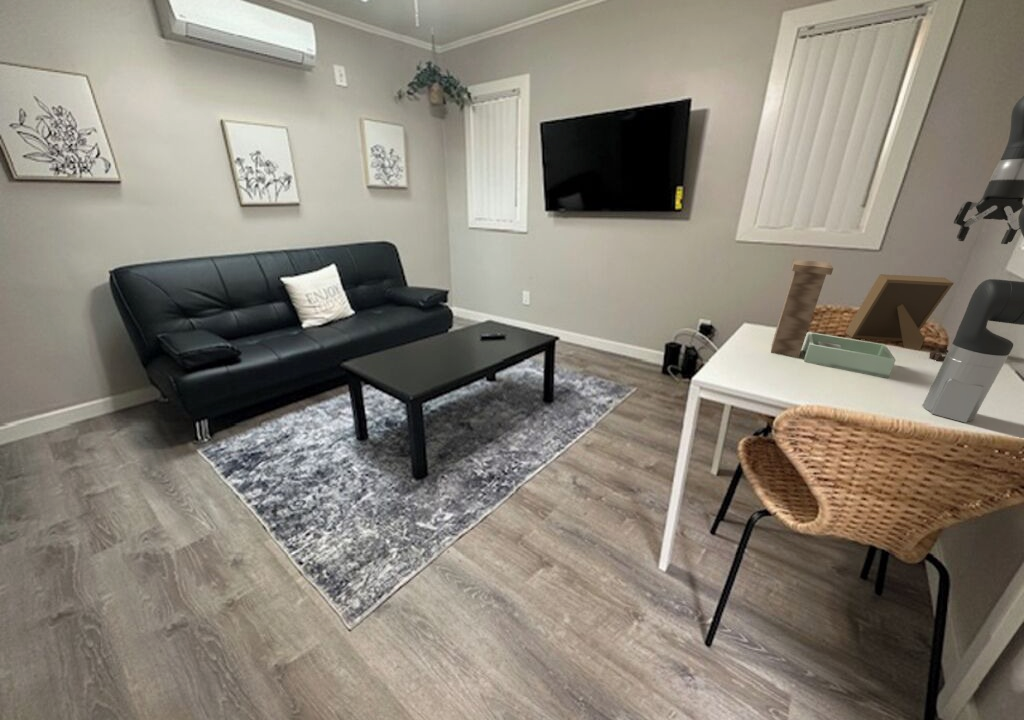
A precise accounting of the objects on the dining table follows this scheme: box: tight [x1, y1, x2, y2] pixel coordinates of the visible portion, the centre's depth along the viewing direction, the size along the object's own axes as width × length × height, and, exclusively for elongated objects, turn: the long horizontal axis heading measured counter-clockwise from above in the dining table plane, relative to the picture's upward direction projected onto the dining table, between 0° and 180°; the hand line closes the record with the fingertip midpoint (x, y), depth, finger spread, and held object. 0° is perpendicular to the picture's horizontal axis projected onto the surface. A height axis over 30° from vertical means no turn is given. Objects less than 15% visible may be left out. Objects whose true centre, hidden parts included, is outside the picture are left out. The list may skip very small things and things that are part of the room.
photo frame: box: [845, 273, 955, 351], centre depth 148 cm, size 15×22×25 cm
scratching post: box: [770, 258, 834, 359], centre depth 134 cm, size 10×14×30 cm
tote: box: [802, 331, 896, 379], centre depth 131 cm, size 21×16×6 cm
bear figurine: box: [928, 347, 949, 362], centre depth 136 cm, size 18×4×14 cm
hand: (981, 242), depth 113 cm, fingers open, 8 cm apart
